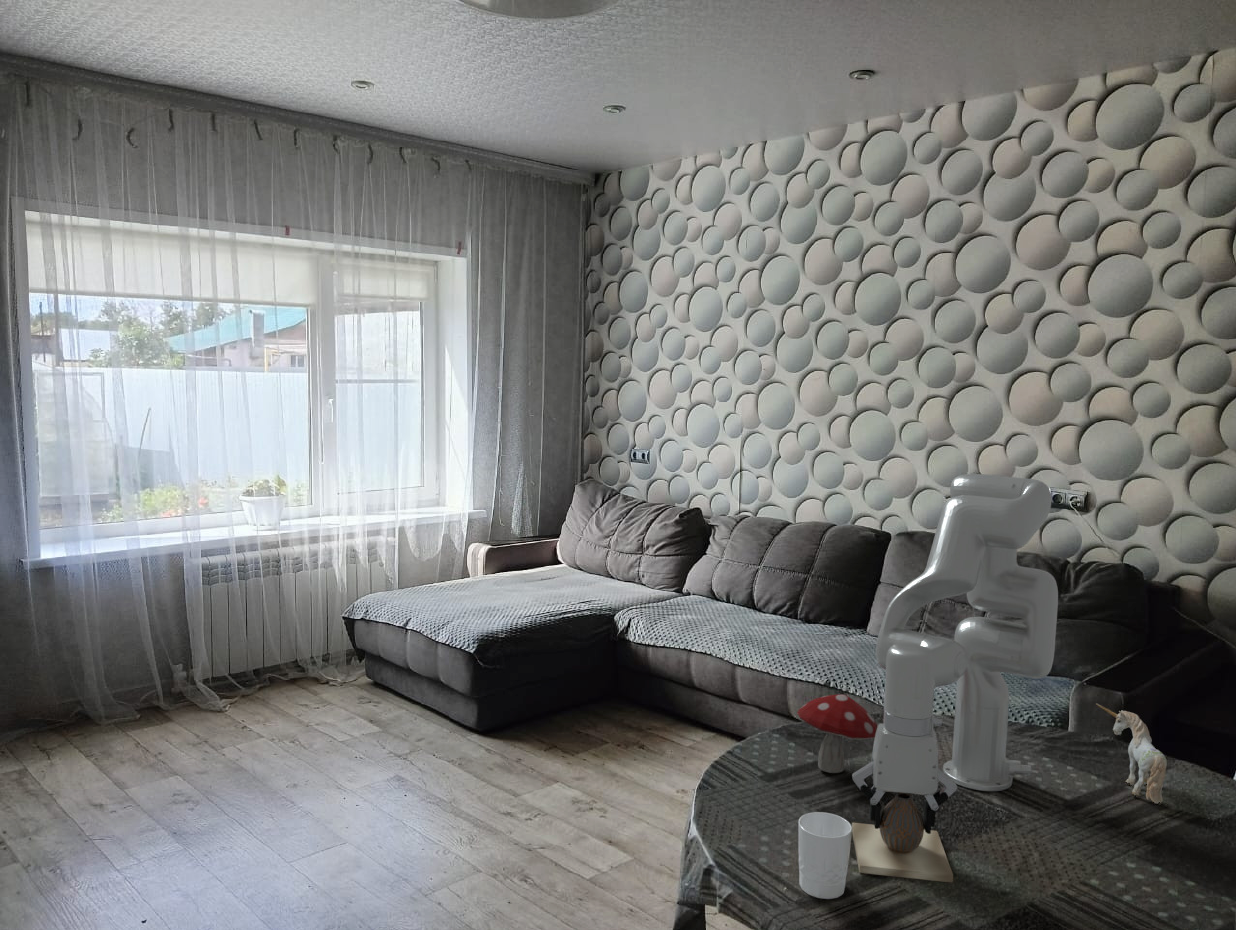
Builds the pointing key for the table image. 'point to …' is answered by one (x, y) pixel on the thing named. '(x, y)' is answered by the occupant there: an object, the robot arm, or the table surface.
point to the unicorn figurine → (1141, 755)
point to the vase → (901, 824)
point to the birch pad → (900, 856)
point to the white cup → (823, 854)
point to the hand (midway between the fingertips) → (901, 826)
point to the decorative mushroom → (837, 726)
